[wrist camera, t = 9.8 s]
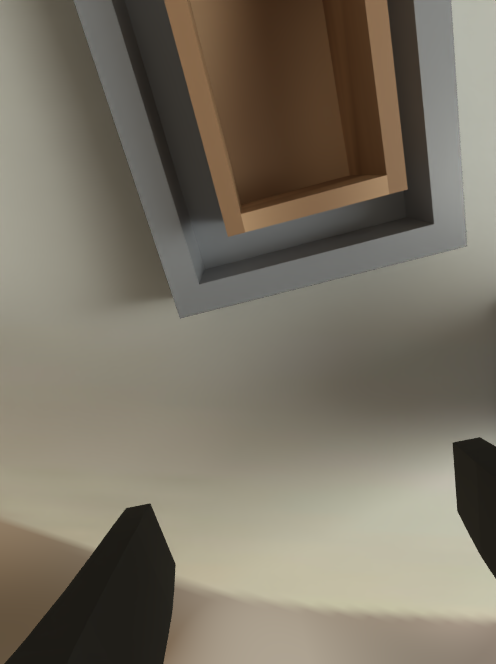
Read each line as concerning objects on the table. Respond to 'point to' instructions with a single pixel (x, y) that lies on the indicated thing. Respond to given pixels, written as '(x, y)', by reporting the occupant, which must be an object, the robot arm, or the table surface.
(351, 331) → the table surface
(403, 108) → the big crate
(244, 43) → the small crate
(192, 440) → the table surface
